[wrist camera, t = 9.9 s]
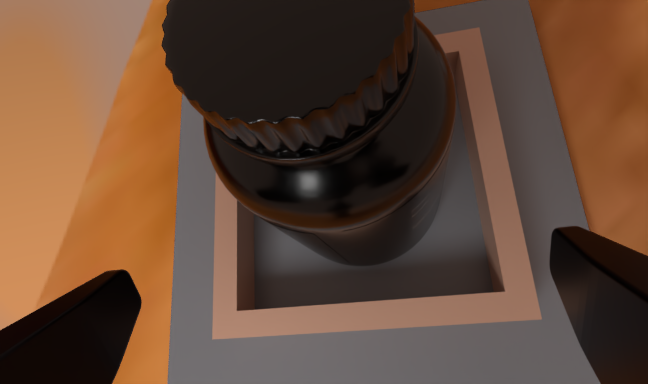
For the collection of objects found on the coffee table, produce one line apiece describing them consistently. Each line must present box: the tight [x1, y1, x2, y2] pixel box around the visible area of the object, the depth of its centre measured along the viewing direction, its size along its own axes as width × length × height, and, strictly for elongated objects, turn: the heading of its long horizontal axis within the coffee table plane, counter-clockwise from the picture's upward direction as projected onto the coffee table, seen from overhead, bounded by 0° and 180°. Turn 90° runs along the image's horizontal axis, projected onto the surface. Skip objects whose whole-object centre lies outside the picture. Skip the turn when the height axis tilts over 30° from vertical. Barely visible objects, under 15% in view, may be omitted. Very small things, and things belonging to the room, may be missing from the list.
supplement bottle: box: [162, 0, 456, 266], centre depth 13 cm, size 7×7×12 cm
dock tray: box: [168, 0, 601, 384], centre depth 18 cm, size 18×18×3 cm
